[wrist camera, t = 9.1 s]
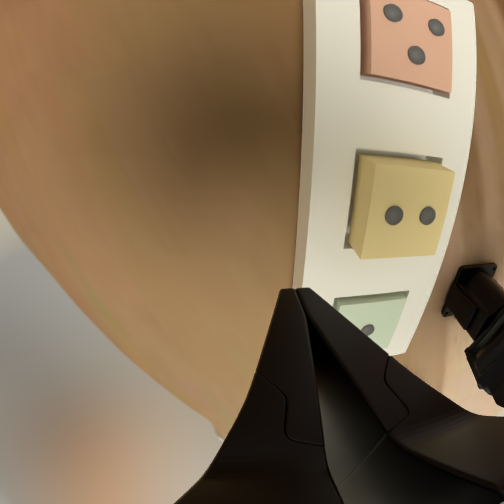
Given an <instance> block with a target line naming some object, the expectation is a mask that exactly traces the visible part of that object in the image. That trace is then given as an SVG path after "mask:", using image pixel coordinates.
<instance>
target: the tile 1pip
mask: <svg viewBox="0 0 504 504" xmlns="http://www.w3.org/2000/svg"><path fill="white" fill-rule="evenodd" d="M406 300H407V297H406V296H405V294H404V293H403V291H399V292H391V293H381V294H372V295H361V296H351V297H340V298H334V303H333V307H334V308H335V309H336V310H337V311H338V312H340V313H341V314H342V315H343V316H344V317H346V318H347V319H348V320H349V321H350V322H352V323H353V324H354V325H355V326H356V327H358V328H359V329H360V330H361V331H362V332H363V333H365V334H366V335H367V336H368V337H369V338H371V339H372V340H373V341H374V342H375V343H377V344H378V345H379V346H380V347H381V348H382V349H385V348H388V346H389V344H390V341H391V339H392V337H393V334H394V332H395V329H396V327H397V324H398V322H399V319H400V316H401V314H402V311H403V308H404V306H405V303H406Z"/></svg>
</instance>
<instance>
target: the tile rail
mask: <svg viewBox="0 0 504 504" xmlns="http://www.w3.org/2000/svg"><path fill="white" fill-rule="evenodd" d="M426 1H428V2H431V3H433V4H436V5H438V6H440V7H443V8H445V9H447V10H450V11H451V25H452V90H451V93H448V92H441V91H435V90H429V89H426V88H422V87H418V86H414V85H410V84H405V83H401V82H396V81H391V80H386V79H381V78H376V77H370V76H364V75H360V4H359V0H303V118H302V147H301V170H300V189H299V207H298V222H297V237H296V250H295V263H294V275H293V286H292V288H293V289H296V288H304V287H309V288H311V289H312V290H313V291H315V292H316V293H317V294H318V295H319V296H321V297H322V298H323V299H324V300H325V301H327V302H328V303H329V304H330V305H331V306H333V303H334V298H340V297H351V296H361V295H372V294H381V293H391V292H399V291H403V293H404V294H405V296H406V297H407V300H406V303H405V306H404V308H403V311H402V314H401V316H400V319H399V322H398V324H397V327H396V329H395V332H394V334H393V337H392V339H391V341H390V344H389V346H388V348H385V349H384V350H385V351H386V352H387V353H388V354H389V356H392V355H397V354H402V353H405V352H406V350H407V348H408V346H409V343H410V341H411V339H412V337H413V335H414V333H415V330H416V328H417V326H418V324H419V321H420V319H421V317H422V314H423V312H424V310H425V307H426V305H427V302H428V300H429V297H430V295H431V292H432V289H433V287H434V284H435V281H436V279H437V276H438V273H439V270H440V267H441V264H442V261H443V258H444V255H445V252H446V249H447V246H448V242H449V239H450V236H451V232H452V229H453V225H454V221H455V217H456V214H457V210H458V205H459V201H460V197H461V193H462V188H463V183H464V178H465V173H466V168H467V162H468V156H469V150H470V143H471V136H472V128H473V118H474V107H475V93H476V31H475V17H474V7H473V3H471V2H469V1H467V0H426ZM359 154H365V155H378V156H389V157H399V158H409V159H417V160H425V161H433V162H437V163H439V164H441V165H442V166H444V167H446V168H448V169H450V170H452V171H454V172H455V176H454V181H453V186H452V191H451V195H450V200H449V204H448V209H447V213H446V217H445V221H444V224H443V228H442V232H441V236H440V239H439V243H438V246H437V249H436V253H435V255H429V256H413V257H396V258H379V259H361V260H360V258H359V257H358V255H357V254H356V252H355V251H354V249H353V248H352V246H351V245H350V243H349V242H348V239H349V233H350V226H351V220H352V213H353V205H354V198H355V190H356V182H357V173H358V163H359Z"/></svg>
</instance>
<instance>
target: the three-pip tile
mask: <svg viewBox="0 0 504 504" xmlns="http://www.w3.org/2000/svg"><path fill="white" fill-rule="evenodd" d="M359 4H360V75H364V76H370V77H376V78H381V79H386V80H391V81H396V82H401V83H405V84H410V85H414V86H418V87H422V88H426V89H429V90H435V91H441V92H448V93H451V90H452V25H451V11H450V10H447V9H445V8H443V7H440V6H438V5H436V4H433V3H431V2H428V1H426V0H359Z"/></svg>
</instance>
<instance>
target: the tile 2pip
mask: <svg viewBox="0 0 504 504" xmlns="http://www.w3.org/2000/svg"><path fill="white" fill-rule="evenodd" d="M454 176H455V172H454V171H452V170H450V169H448V168H446V167H444V166H442V165H441V164H439V163H437V162H433V161H425V160H417V159H409V158H399V157H389V156H378V155H365V154H359V163H358V173H357V182H356V190H355V198H354V205H353V213H352V220H351V226H350V233H349V239H348V242H349V243H350V245H351V246H352V248H353V249H354V251H355V252H356V254H357V255H358V257H359V258H360V260H361V259H379V258H396V257H413V256H429V255H435V253H436V249H437V246H438V243H439V239H440V236H441V232H442V228H443V224H444V221H445V217H446V213H447V209H448V204H449V200H450V195H451V191H452V186H453V181H454Z"/></svg>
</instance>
